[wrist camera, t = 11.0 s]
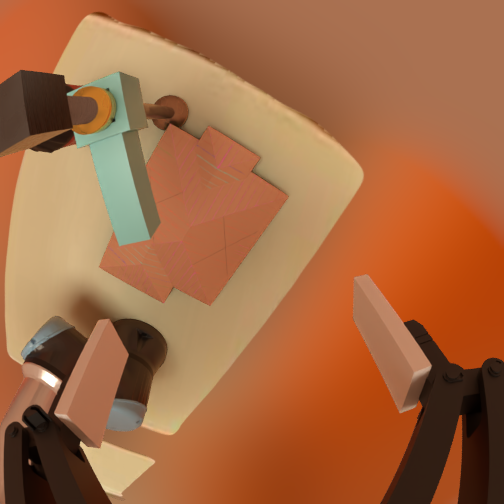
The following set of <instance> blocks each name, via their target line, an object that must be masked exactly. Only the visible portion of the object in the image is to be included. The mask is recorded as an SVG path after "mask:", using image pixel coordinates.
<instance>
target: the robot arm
mask: <svg viewBox="0 0 504 504" xmlns="http://www.w3.org/2000/svg"><path fill="white" fill-rule="evenodd" d="M353 320H354V322H355V324H356V325H357V327H358V329H359V331H360V333H361V335H362V337H363V339H364V341H365V343H366V345H367V347H368V349H369V350H370V353H371V354H372V356H373V358H374V360H375V362H376V364H377V366H378V368H379V370H380V372H381V375H382V376H383V379H384V380H385V383H386V385H387V387H388V389H389V391H390V393H391V395H392V397H393V399H394V402H395V404H396V406H397V408H398V410H399V412H400V413H402V412H405V411H407V410H410V409H412V408H415V407H416V405H417V403H418V401H419V400H420V402H421V404H422V406H423V407H422V409H421V411H420V413H419V415H418V418H417V419H418V420H417V423H416V426H415V429H414V431H413V434H412V437H411V439H410V442H409V444H408V447H407V449H406V451H405V454H404V456H403V458H402V461H401V463H400V465H399V468H398V470H397V472H396V474H395V476H394V478H393V480H392V482H391V484H390V486H389V488H388V490H387V492H386V494H385V496H384V498H383V500H382V502H381V503H380V504H430V503H431V501H432V498H433V496H434V493H435V491H436V489H437V486H438V483H439V480H440V478H441V476H442V473H443V470H444V467H445V464H446V461H447V458H448V454H449V452H450V448H451V445H452V441H453V438H454V434H455V430H456V426H457V422H458V418H459V415H462V465H461V478H460V489H459V497H458V504H504V362H503V361H502V360H500V359H497V358H490V359H487V360H486V361H485V362H484V363H483V365H482V367H481V368H476V369H466V370H464V369H463V368H462V367H460V366H459V365H456V364H452V363H449V361H448V360H447V358H446V357H445V356H444V354H443V353H442V351H441V350H440V349H439V347H438V346H437V345H436V343H435V342H434V341H433V339H432V337H431V336H430V335H428V332H427V331H426V329H425V328H424V327H423V325H421V324H420V323H418V322H417V321H415V320H411V321H408V322H404V323H403V322H402V320H401V319H400V318H399V316H398V315H397V313H396V312H395V311H394V309H393V308H392V307H391V305H390V304H389V302H388V301H387V300H386V298H385V297H384V296H383V294H382V293H381V292H380V290H379V289H378V287H377V286H376V285H375V283H374V282H373V281H372V280H371V278H370V277H369V276H368V275H367V274H366V275H362V276H357V277H354V307H353ZM166 353H167V345H166V342H165V340H164V338H163V337H162V335H161V334H160V333H159V332H158V331H157V330H156V329H154V328H153V327H152V326H150V325H148V324H146V323H144V322H141V321H138V320H133V319H123V320H119V321H116V322H115V323H113V324H112V323H111V321H110V319H102V320H98V322H97V324H96V326H95V327H94V329H93V331H92V333H91V335H90V337H89V339H87V338H85V337H84V336H83V335H82V334H81V333H79V332H78V331H77V330H76V329H75V327H74V326H72V325H70V324H69V323H67V322H66V321H65V320H64V319H62V318H61V317H58V316H55V317H52V318H51V319H50V320H48V321H47V322H46V323H45V324H44V325H43V326H42V327H41V328H40V329H39V331H38V332H37V333H36V334H35V335H34V336H33V338H32V339H31V340H30V341H29V342H28V343H27V345H26V346H25V347H24V349H23V350H22V352H21V356H22V357H23V359H24V360H25V362H24V363H23V365H22V372H23V376H24V380H23V382H22V384H21V385H20V387H19V389H18V391H17V393H16V395H15V397H14V398H13V400H12V402H11V404H10V406H9V408H8V410H7V412H6V414H5V416H4V418H3V421H2V422H1V425H0V504H112V503H111V502H110V500H109V498H108V496H107V495H106V493H105V491H104V490H103V488H102V486H101V484H100V482H99V481H98V479H97V477H96V475H95V473H94V471H93V469H92V467H91V465H90V463H89V461H88V459H87V457H86V455H85V453H84V451H83V449H82V448H81V447H80V446H79V445H80V441H82V442H83V443H84V444H85V445H86V446H87V447H94V448H100V447H101V443H102V439H103V436H104V432H105V429H110V430H114V431H131V430H135V429H137V428H138V427H140V426H141V424H142V422H143V419H144V416H145V413H146V411H147V403H148V399H149V394H150V389H151V384H152V380H153V376H154V374H155V373H156V372H157V370H158V369H159V367H160V366H161V365H162V364H163V363H164V360H165V358H166Z"/></svg>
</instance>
